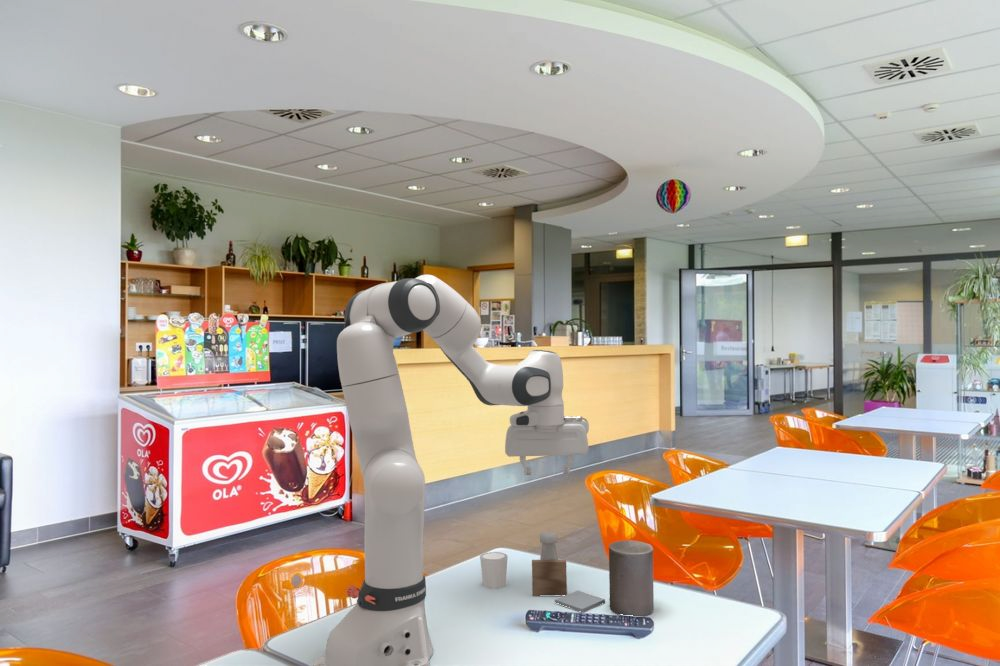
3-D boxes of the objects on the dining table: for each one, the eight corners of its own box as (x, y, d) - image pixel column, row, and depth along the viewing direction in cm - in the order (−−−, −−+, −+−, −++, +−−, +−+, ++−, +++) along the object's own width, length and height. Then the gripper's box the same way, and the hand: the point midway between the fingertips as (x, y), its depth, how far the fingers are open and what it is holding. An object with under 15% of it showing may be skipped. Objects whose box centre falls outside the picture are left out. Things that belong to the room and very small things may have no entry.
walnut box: (566, 593, 160) (566, 559, 160) (566, 596, 158) (566, 561, 159) (532, 593, 160) (531, 559, 161) (532, 596, 159) (531, 561, 159)
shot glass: (482, 579, 171) (482, 551, 171) (509, 580, 170) (509, 551, 170) (478, 589, 164) (477, 559, 164) (506, 589, 163) (505, 560, 164)
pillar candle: (601, 605, 153) (599, 538, 153) (636, 597, 157) (635, 532, 157) (626, 621, 144) (625, 550, 144) (663, 612, 148) (662, 543, 148)
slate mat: (582, 612, 148) (582, 609, 148) (554, 603, 154) (554, 599, 154) (605, 602, 154) (605, 599, 154) (577, 593, 160) (577, 590, 160)
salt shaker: (562, 591, 162) (561, 536, 162) (538, 591, 162) (537, 536, 162) (560, 582, 168) (559, 529, 168) (537, 582, 168) (536, 529, 168)
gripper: (586, 414, 169) (587, 470, 169) (504, 416, 169) (505, 472, 168) (590, 417, 163) (591, 475, 163) (504, 419, 162) (506, 477, 162)
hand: (547, 474), depth 165 cm, fingers open, 8 cm apart
